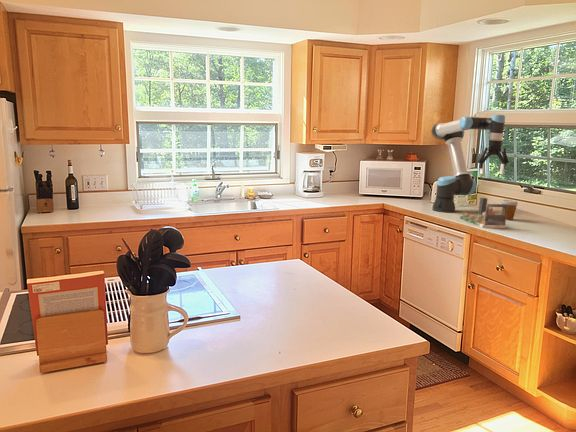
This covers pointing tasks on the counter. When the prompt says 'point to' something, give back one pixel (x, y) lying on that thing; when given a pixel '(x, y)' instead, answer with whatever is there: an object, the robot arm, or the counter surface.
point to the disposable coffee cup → (509, 208)
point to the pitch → (488, 218)
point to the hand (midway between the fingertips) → (491, 174)
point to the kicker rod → (484, 208)
